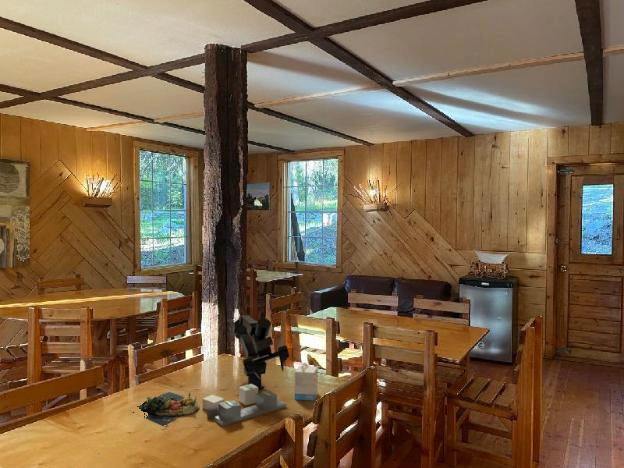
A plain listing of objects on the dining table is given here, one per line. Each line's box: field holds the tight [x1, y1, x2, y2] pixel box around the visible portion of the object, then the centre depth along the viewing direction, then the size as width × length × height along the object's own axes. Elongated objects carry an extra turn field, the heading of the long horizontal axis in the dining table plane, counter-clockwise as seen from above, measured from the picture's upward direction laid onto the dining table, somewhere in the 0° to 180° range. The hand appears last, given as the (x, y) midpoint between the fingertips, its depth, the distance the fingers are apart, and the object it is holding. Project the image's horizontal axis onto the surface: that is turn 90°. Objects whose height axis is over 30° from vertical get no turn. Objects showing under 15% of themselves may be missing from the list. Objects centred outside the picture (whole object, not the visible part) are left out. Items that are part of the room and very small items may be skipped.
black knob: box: [206, 407, 218, 420], centre depth 171 cm, size 4×4×3 cm
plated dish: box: [137, 391, 200, 428], centre depth 178 cm, size 35×28×7 cm
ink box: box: [294, 361, 319, 402], centre depth 191 cm, size 9×8×13 cm
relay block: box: [202, 394, 225, 411], centre depth 178 cm, size 7×5×4 cm
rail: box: [214, 389, 287, 427], centre depth 173 cm, size 6×28×6 cm, turn 128°
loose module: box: [238, 384, 259, 406], centre depth 185 cm, size 5×6×6 cm
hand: (271, 374), depth 179 cm, fingers open, 9 cm apart
